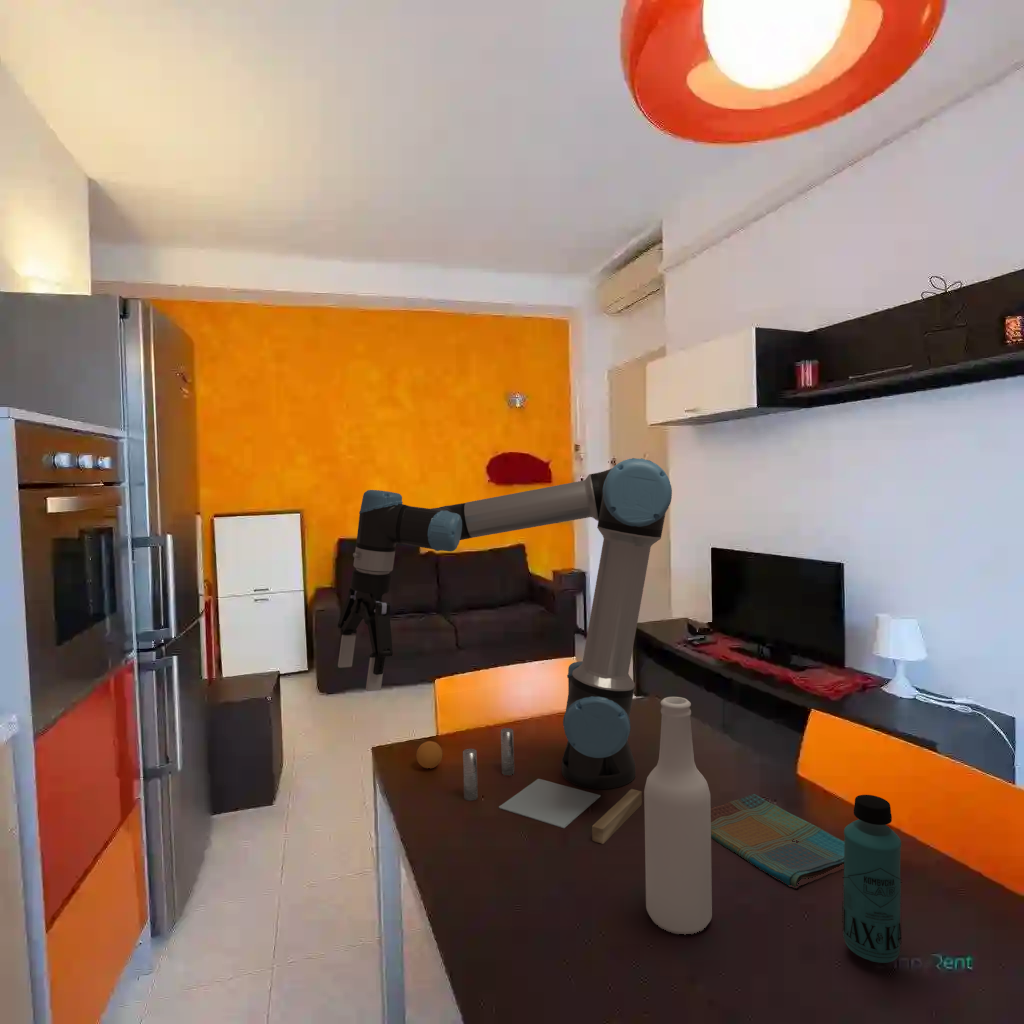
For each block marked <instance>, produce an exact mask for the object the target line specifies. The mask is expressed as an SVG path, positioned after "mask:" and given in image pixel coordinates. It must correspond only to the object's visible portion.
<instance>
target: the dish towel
mask: <svg viewBox="0 0 1024 1024" xmlns="http://www.w3.org/2000/svg"><path fill="white" fill-rule="evenodd" d="M793 839H794V840H793ZM711 840H713V841H715V842H716V843H718V844H719V845H721V846H723V847H724V848H725V849H727V848H728V849H727V850H729V849H730V850H729V851H731V852H732V851H733V852H735V853H736V854H735V853H734V854H735V855H737V854H738V855H739V856H741V857H742V858H744V859H746V860H747V861H749V862H751V863H752V864H754V865H755V866H757V867H759V868H760V869H761V870H764V871H765V872H767V873H768V874H770V875H772V876H774V877H776V878H777V879H780V880H781V881H783V882H784V883H786V884H787V885H792V886H794V887H796V886H798V885H797V883H798V882H799V881H800V880H801V879H806V878H808V879H809V878H813V877H816V876H818V875H821V874H824V873H826V872H828V871H830V870H832V869H834V868H836V867H839V866H840V865H842V864H844V842H845V840H842V839H840V838H838V837H837V836H835V835H833V834H831V833H830V832H829V831H826V830H824V829H822V828H821V827H819V826H817V825H815V824H813V823H810V821H809V822H808V820H807V821H806V820H805V819H803V818H801V817H798V816H797V815H795V814H792V813H790V812H788V811H787V810H785V809H783V808H781V807H780V806H778V805H776V804H774V803H771V801H770V802H769V801H768V800H766V799H764V798H762V797H761V796H759V795H757V794H755V793H751V794H749V795H747V796H743V797H740V798H738V799H734V800H731V801H729V802H726V803H723V804H719V805H715V806H713V807H711ZM792 840H793V841H795V842H792ZM796 840H797V841H799V842H798V843H796ZM733 852H732V853H733ZM738 855H737V856H738ZM739 856H738V857H739ZM741 857H740V858H741ZM742 858H741V859H742ZM744 859H743V860H744ZM747 861H746V862H747ZM749 862H748V863H749ZM752 864H751V865H752ZM755 866H754V867H755ZM760 869H759V870H760ZM761 870H760V871H761ZM765 872H764V873H765ZM768 874H767V875H768ZM770 875H769V876H770ZM784 883H783V884H784ZM798 884H799V883H798ZM787 885H786V886H787Z"/></svg>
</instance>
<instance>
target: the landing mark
mask: <svg viewBox="0 0 1024 1024" xmlns="http://www.w3.org/2000/svg"><path fill="white" fill-rule="evenodd" d="M599 798H601V794H597V793H593V792H589V791H585V790H582V789H578V788H575V787H571V786H567V785H563V784H559V783H556V782H552V781H549V780H545V779H541V778H537V779H536V780H534V781H533V782H532V783H530V784H529V785H527V786H526V787H524V788H523V789H521V791H519V792H518V793H516V794H515V795H513V796H512V797H510V798H509V799H508V800H506V801H505V802H503V803H502V804H500V805H499V806H498V809H500V810H503V811H506V812H510V813H514V814H516V815H519V816H523V817H526V818H529V819H532V820H535V821H539V822H542V823H545V824H547V825H552V826H555V827H559V828H562V829H565V828H566V827H567V826H569V825H570V824H571V823H572V822H574V820H576V819H577V818H579V817H578V816H580V815H581V814H582V813H584V811H586V810H587V809H588V808H589V807H590V806H592V804H594V803H595V802H596V801H597V800H598V799H599Z"/></svg>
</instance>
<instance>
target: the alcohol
mask: <svg viewBox="0 0 1024 1024" xmlns="http://www.w3.org/2000/svg"><path fill="white" fill-rule="evenodd" d="M660 705H661V708H660V713H661V721H660V723H661V724H660V739H659V752H658V753H659V755H658V761H657V764H656V765H655V766H654V768H653V769H652V770H651V771H650V772H649V774H648V775H647V777H646V781H645V785H644V789H643V790H644V791H643V793H644V794H643V795H644V797H643V799H644V800H643V802H644V807H643V808H644V850H645V851H644V853H645V854H644V856H645V857H644V858H645V909H646V911H647V914H648V915H649V917H650V918H651V920H652V922H653V923H654V924H655V925H656V926H657V925H658V928H660V929H662V930H663V929H664V930H663V931H665V930H666V932H668V933H670V932H671V934H674V935H679V934H684V936H687V935H686V934H691V935H695V934H698V933H700V932H702V931H704V930H705V929H706V928H707V926H708V925H709V924H710V923H711V920H712V918H713V909H712V908H713V896H712V895H713V893H712V892H713V890H712V887H713V886H712V885H713V884H712V882H713V881H712V877H713V876H712V839H711V808H712V807H711V804H712V803H711V800H712V799H711V791H710V788H709V784H708V781H707V780H706V778H705V777H704V775H703V774H702V773H701V772H700V771H699V769H698V768H697V766H696V762H695V756H694V746H693V745H694V744H693V736H692V735H693V734H692V733H693V732H692V724H691V723H692V722H691V715H692V710H691V708H690V707H691V706H692V703H691V701H689V699H687V698H685V697H681V696H667V697H664V698H663V699H662V700H660ZM704 928H705V929H704ZM699 931H700V932H699ZM697 932H698V933H697ZM694 933H695V934H694Z"/></svg>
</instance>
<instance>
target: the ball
mask: <svg viewBox="0 0 1024 1024" xmlns="http://www.w3.org/2000/svg"><path fill="white" fill-rule="evenodd" d="M415 755H416V761H417V763H418V764H419V766H421V767H422V768H424V769H428V768H430V769H433V768H435V767H437V766H438V765H439V764H440V763H441V761H442V758H443V750H442V747H441V746H440V745H439V743H437V742H436V741H433V740H428V741H424V742H423V743H421V744H420V745H419V747H418V749H417V750H416V754H415Z"/></svg>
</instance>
